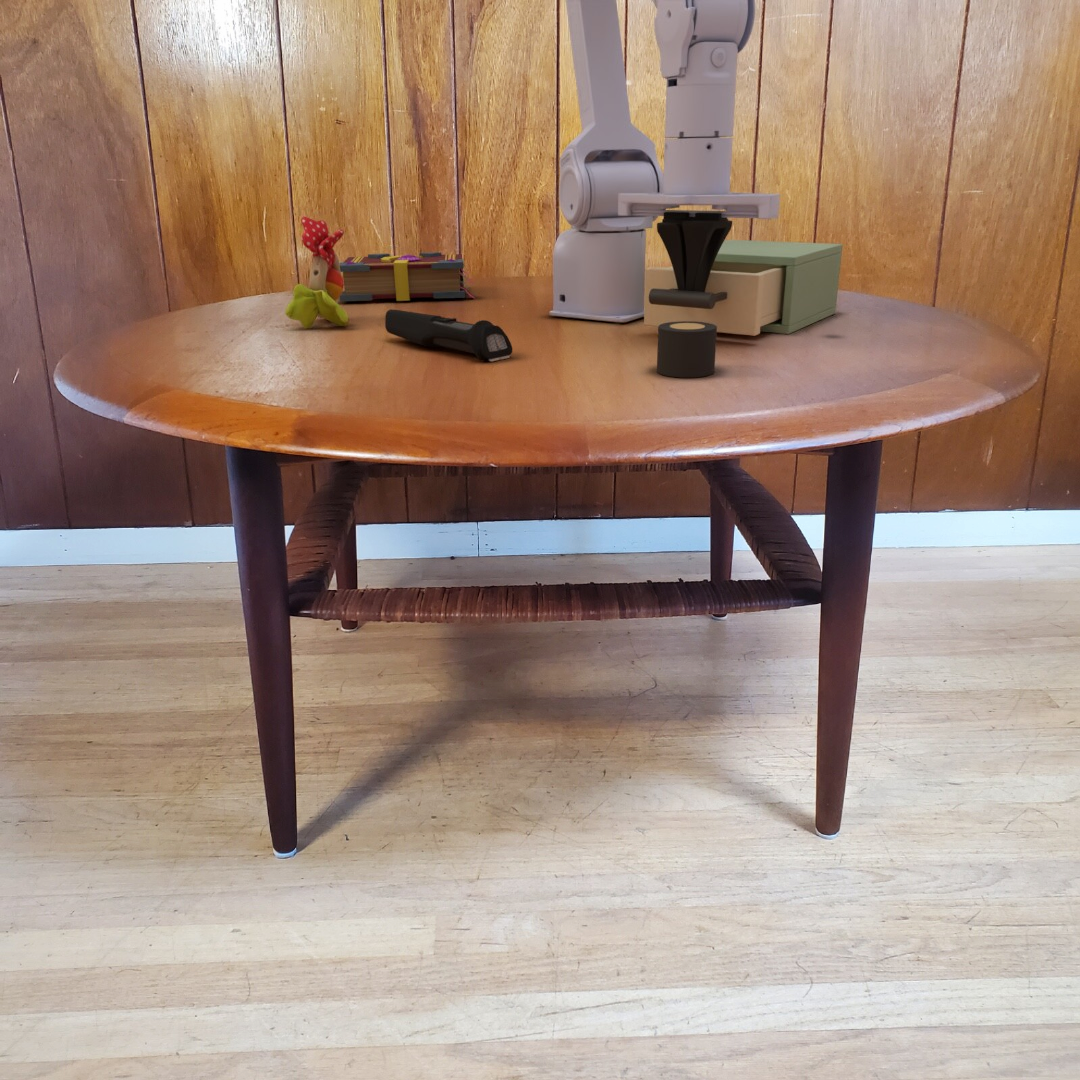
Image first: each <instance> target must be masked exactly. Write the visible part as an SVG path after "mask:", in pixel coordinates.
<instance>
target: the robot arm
mask: <svg viewBox="0 0 1080 1080" xmlns="http://www.w3.org/2000/svg"><path fill="white" fill-rule="evenodd" d="M651 1H652V2H653V4H654V6H655V8H656V16H655V17H654V22H653V23H654V35H655V40H656V43H657V47H658V49H659V55H660V57H659V58H660V62H659V63H660V64H659V65H660V69H659V71H660V72H661V77H662V78H663V79H665V80H666V84H665V85H666V87H665V88H666V89H665V91H666V92H665V119H664V148H663V150H664V152H663V153H664V154H663V169H662V168H661V165H660V163H659V160H658V156H657V149H656V144H655V142H654V141H653V139H651V138H649V136H648V135H646V134H645V133H644V132H642V130H640V129H639V128H637V127H636V125H634V124H633V123H632V121H631V120H632V119H631V112H630V102H629V94H628V86H627V79H626V78H627V77H626V70H625V62H624V53H623V46H622V45H623V44H622V37H621V29H620V20H619V12H618V3H617V0H565V7H566V15H567V22H568V23H567V24H568V31H569V40H570V46H571V47H570V48H571V55H572V62H573V71H574V78H575V86H576V95H577V103H578V109H579V119H580V126H581V132H579V134H577V136H575V137H574V138H573V139H572V140H571V141H570V142H569V143H568V144H567V146H566V147H565V148H564V149H563V151H562V153H561V155H560V157H559V184H558V185H559V186H558V200H559V206H560V210H561V214H562V215H563V217H564V219H565V220H566V221H567V223H568V224H569V226H570V228H568V229H565V230H563V231H562V232H560V234H559V235H558V237H557V239H556V241H555V244H554V247H553V251H552V252H553V253H552V296H553V297H552V301H553V302H552V306H553V310H550V311H549V316H551V317H561V318H572V319H579V320H580V319H582V320H590V321H591V320H593V321H601V322H602V321H603V322H610V323H611V322H612V323H628V322H632V321H634V320H637V319H640V318H644V308H645V270H646V254H647V253H646V250H647V248H646V247H647V229H653V223H654V222H655V221H656V220H657V219H658V218H659V217H663V218H662V221H661V222H657V223H656V232H657V234H658V236H659V237H660V239H661V241H662V243H663V245H664V247H665V250H666V252H667V254H668V258H669V260H670V262H671V267H673V270H674V274H675V278H676V283H677V288H678V290H683V291H696V292H705V288H706V285H707V281H708V278H709V275H710V272H711V269H712V266H713V263H714V261H715V258H716V256H717V254H718V252H719V250H720V248H721V246H722V244H723V242H724V241H726V238H727V237H728V235H729V233H730V231H731V230H732V228H733V220H730V219H758V220H772V219H773V220H774V219H779V214H780V203H781V202H780V200H781V193H761V192H760V193H759V192H758V193H755V192H754V193H753V192H731V191H730V190H731V175H732V173H731V172H732V159H733V158H732V156H733V139H734V138H733V137H734V126H735V125H734V122H735V106H736V105H735V104H736V89H737V88H736V87H737V70H738V55H739V54H740V53H741V52H742V50H743V49H744V48H745V47H746V45H747V43H748V42H749V40H750V37H751V35H752V32H753V28H754V24H755V18H756V0H651ZM680 206H711V210H693V209H692V210H689V209H687V210H686V209H677V208H680Z"/></svg>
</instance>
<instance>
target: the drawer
mask: <svg viewBox="0 0 1080 1080" xmlns="http://www.w3.org/2000/svg"><path fill="white" fill-rule="evenodd" d="M786 268H787V266H786V265H767V264H749V263H730V262H714V263H713V266H712V269H711V272H710V275H709V278H708V281H707V285H706V288H705V292H696V291H683V290H678V288H677V283H676V278H675V274H674V270H673V267H672V266H668V267H656V266H655V267H654V266H651V267H645V292H644V307H645V308H644V317H643V325H644V326H651V327H658V326H659V325H660V324H663V323H668V322H679V321H693V322H705V323H710V324H714V325H716V326H717V333H722V334H723V333H724V334H730V335H731V334H732V335H741V336H753V337H755V336H758V335H760V334H761V331H760V327H761V326H763V325H766V324H768V323H771V322H773V321H776V320H778V319H781V318H782V316H783V304H784V292H785V280H786Z"/></svg>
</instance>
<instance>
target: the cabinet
mask: <svg viewBox="0 0 1080 1080" xmlns="http://www.w3.org/2000/svg"><path fill="white" fill-rule="evenodd" d="M843 247H844V245H843V244H842V243H826V242H825V243H822V242H800V241H799V242H798V241H797V242H796V241H775V240H774V241H773V240H772V241H771V240H770V241H769V240H750V239H749V240H748V239H728V240H727V239H726V240H724V242H723V244H722V246H721V248H720V250H719V252H718V254H717V256H716V258H715V261H714V262H730V263H749V264H767V265H786V266H787V268H786V280H785V292H784V304H783V316H782V318H781V319H778V320H776V321H773V322H771V323H768V324H766V325H763V326H761V327H760V333H761V332H762V333H772V334H784V335H789V334H792V333H794V332H796V331H799V330H800V329H801V330H802V329H803V328H806V327H807V326H810V325H812V324H815V323H816V322H819V321H821V320H823V319H826V318H828V317H830V316H832V315H835V314H836V313H837V312H836V311H837V303H838V292H839V285H840V284H839V283H840V274H841V264H842V257H843V256H842V255H843Z"/></svg>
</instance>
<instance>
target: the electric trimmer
mask: <svg viewBox="0 0 1080 1080" xmlns="http://www.w3.org/2000/svg"><path fill="white" fill-rule="evenodd" d="M384 320H385V321H384V322H385V323H384V326H385V330H386V332H387V333H388V334H391V335H394V336H396V337H398V338H402V339H404V340H407V341H408V342H409V341H410V342H412V343H415V344H417V345H420V346H424V347H428V348H433V349H434V348H438V347H444V348H448V349H453V350H456V351H457V350H458V351H460V352H461V351H462V352H465V353H471V354H475V356H476V358H477V359H478V360H479V361H482V362H486V361H489V362H494V361H500V360H504V359H510V356H511V355H512V354H513V346H512V342H511V341H510V339H509V337H508V335H507V334H506V333H505V332H504V330H503V329H502V328H501V326H499V325H494V323H492V322H491V321H489V320H485V319H483V320H478V321H476V322H474V323H468V322H463V321H457V318H456V317H453V318H449V317H445V316H441V315H436V314H428V313H420V312H413V311H407V310H400V309H391V308H390V309H388V310H387V311H386V313H385V318H384Z"/></svg>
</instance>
